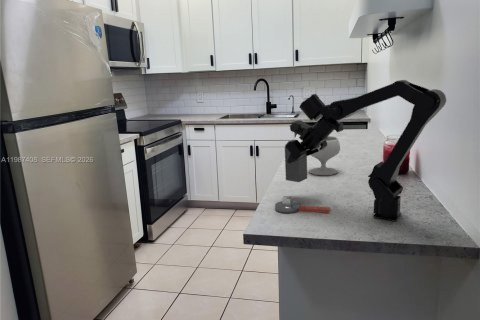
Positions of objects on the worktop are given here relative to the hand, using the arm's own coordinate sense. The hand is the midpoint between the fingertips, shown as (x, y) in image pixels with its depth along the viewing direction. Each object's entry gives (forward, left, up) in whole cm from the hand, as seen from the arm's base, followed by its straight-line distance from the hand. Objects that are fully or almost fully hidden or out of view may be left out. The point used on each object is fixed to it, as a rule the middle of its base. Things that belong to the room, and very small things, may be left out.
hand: (292, 160), depth 127 cm
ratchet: (-8, +10, -13) cm, 19 cm away
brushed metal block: (-1, 0, -7) cm, 7 cm away
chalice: (+4, -35, -14) cm, 38 cm away
